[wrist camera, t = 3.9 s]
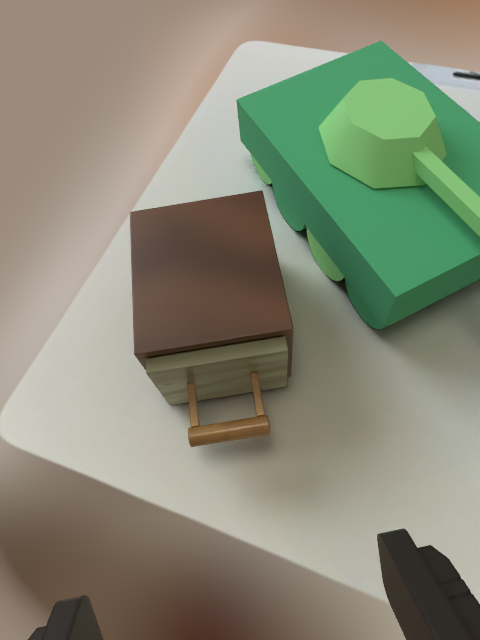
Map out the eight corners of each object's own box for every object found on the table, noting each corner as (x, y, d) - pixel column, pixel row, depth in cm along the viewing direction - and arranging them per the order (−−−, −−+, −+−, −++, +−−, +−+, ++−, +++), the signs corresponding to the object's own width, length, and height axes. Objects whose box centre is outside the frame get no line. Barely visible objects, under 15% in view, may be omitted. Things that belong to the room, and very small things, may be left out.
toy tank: (487, 362, 27) (232, 64, 43) (429, 417, 38) (243, 163, 54) (704, 242, 29) (388, 3, 45) (591, 326, 40) (368, 109, 56)
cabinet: (290, 376, 40) (293, 328, 32) (164, 396, 40) (133, 354, 32) (265, 256, 47) (262, 190, 38) (156, 273, 47) (129, 211, 38)
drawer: (298, 442, 37) (302, 416, 30) (173, 462, 37) (149, 441, 30) (263, 270, 45) (260, 218, 38) (161, 286, 45) (140, 238, 38)
